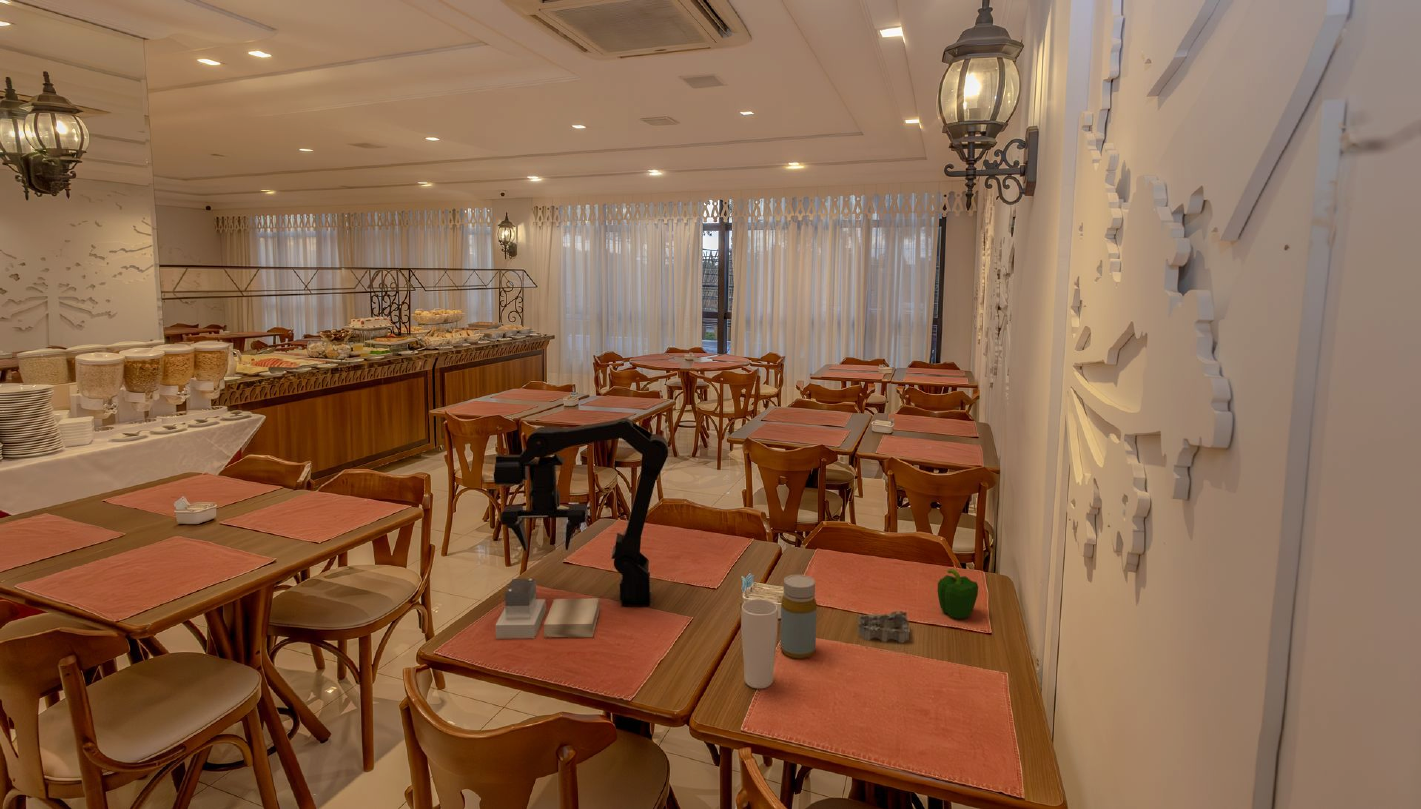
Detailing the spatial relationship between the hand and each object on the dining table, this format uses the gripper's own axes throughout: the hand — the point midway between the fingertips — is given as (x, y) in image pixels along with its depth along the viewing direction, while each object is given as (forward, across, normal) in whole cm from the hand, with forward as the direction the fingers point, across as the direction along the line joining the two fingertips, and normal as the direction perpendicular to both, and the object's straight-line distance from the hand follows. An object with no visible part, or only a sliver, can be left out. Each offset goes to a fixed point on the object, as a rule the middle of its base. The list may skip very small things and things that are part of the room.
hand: (546, 550), depth 164 cm
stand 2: (+13, -7, +10) cm, 18 cm away
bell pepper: (+14, -92, +10) cm, 93 cm away
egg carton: (+14, -73, +18) cm, 76 cm away
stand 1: (+13, +4, +10) cm, 17 cm away
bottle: (+13, -54, +24) cm, 60 cm away
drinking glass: (+13, -44, +35) cm, 58 cm away
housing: (+10, +4, +10) cm, 15 cm away
